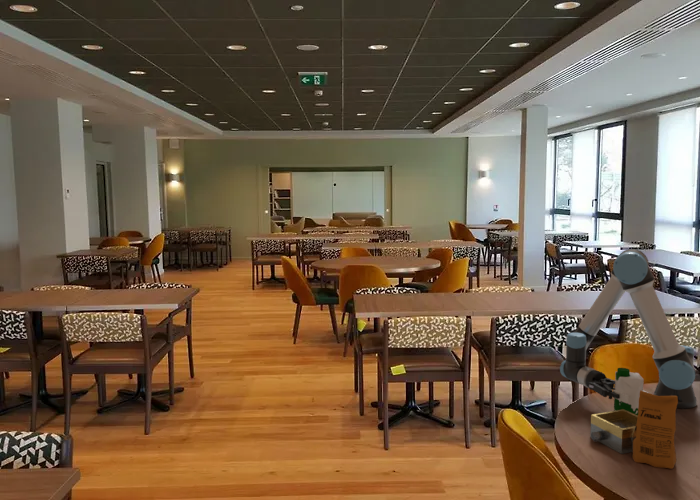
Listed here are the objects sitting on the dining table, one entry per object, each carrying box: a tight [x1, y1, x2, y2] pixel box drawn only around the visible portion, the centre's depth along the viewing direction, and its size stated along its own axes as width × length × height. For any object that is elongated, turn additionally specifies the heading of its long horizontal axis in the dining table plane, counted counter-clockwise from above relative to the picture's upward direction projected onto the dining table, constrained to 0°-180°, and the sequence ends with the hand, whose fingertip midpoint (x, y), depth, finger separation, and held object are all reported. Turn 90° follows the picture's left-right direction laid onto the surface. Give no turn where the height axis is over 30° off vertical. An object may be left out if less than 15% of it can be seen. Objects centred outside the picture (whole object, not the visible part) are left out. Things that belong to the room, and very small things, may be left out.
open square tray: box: [590, 409, 638, 455], centre depth 201 cm, size 17×14×8 cm
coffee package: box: [632, 390, 678, 469], centre depth 187 cm, size 10×12×22 cm
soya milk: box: [613, 367, 645, 416], centre depth 217 cm, size 9×9×20 cm
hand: (637, 397), depth 212 cm, fingers closed on soya milk, 8 cm apart
